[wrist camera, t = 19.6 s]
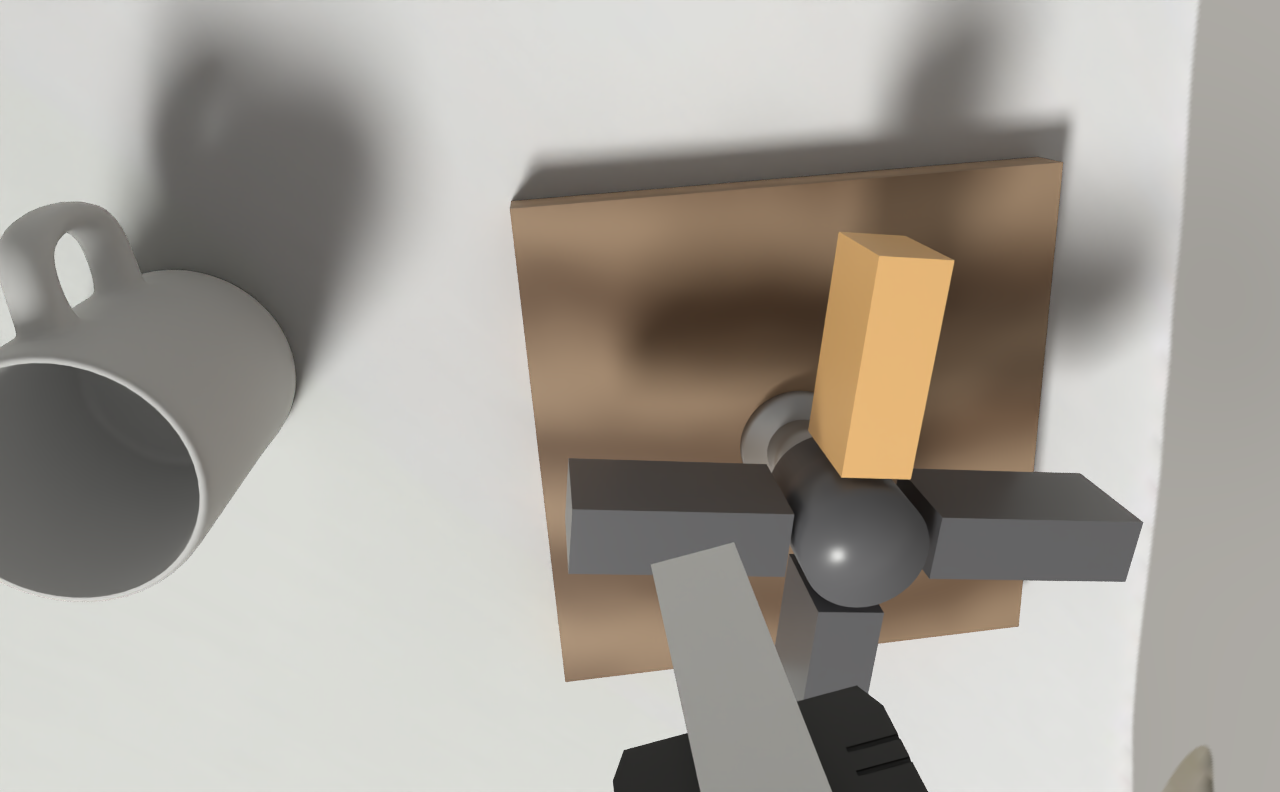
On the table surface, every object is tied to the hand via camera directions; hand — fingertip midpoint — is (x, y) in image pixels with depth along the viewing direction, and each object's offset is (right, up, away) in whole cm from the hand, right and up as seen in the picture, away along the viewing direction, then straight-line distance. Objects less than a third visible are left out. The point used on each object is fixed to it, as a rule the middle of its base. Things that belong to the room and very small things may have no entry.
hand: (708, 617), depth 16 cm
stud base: (+5, +3, +25) cm, 26 cm away
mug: (-20, +7, +21) cm, 30 cm away
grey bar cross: (+6, 0, +19) cm, 20 cm away
